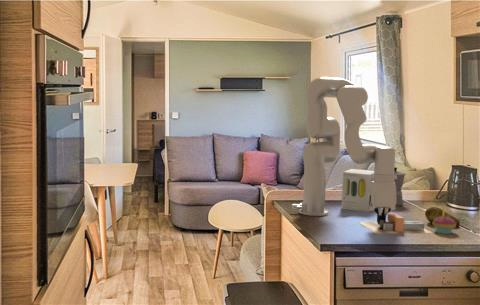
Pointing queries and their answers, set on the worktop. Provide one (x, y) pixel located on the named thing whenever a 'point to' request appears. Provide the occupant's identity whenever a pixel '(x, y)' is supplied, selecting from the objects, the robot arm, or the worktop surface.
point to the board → (375, 228)
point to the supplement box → (356, 189)
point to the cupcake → (444, 224)
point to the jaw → (405, 222)
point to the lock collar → (397, 221)
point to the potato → (439, 215)
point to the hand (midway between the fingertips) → (381, 224)
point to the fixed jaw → (406, 227)
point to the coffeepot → (399, 186)
